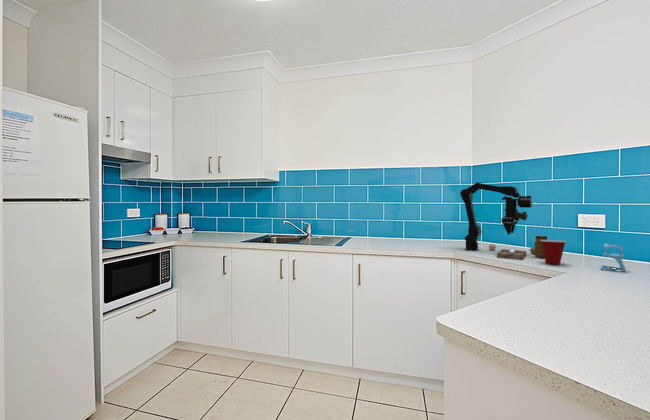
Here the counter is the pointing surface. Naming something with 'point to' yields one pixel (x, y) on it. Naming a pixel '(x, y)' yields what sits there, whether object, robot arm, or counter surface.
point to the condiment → (539, 247)
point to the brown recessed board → (511, 254)
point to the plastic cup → (553, 251)
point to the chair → (616, 256)
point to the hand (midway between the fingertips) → (510, 233)
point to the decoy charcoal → (532, 250)
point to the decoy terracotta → (492, 247)
